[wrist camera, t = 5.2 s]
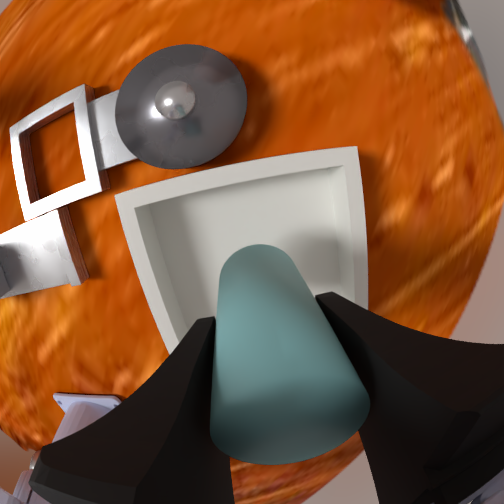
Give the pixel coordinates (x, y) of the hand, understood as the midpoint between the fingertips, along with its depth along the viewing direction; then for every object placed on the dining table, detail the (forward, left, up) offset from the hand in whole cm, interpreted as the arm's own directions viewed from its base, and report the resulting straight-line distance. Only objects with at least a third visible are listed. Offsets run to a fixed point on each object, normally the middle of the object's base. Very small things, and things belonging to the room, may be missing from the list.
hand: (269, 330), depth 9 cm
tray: (0, 0, -7) cm, 7 cm away
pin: (0, 0, -3) cm, 3 cm away
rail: (+3, +18, -7) cm, 19 cm away
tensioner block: (+9, +6, -7) cm, 13 cm away
